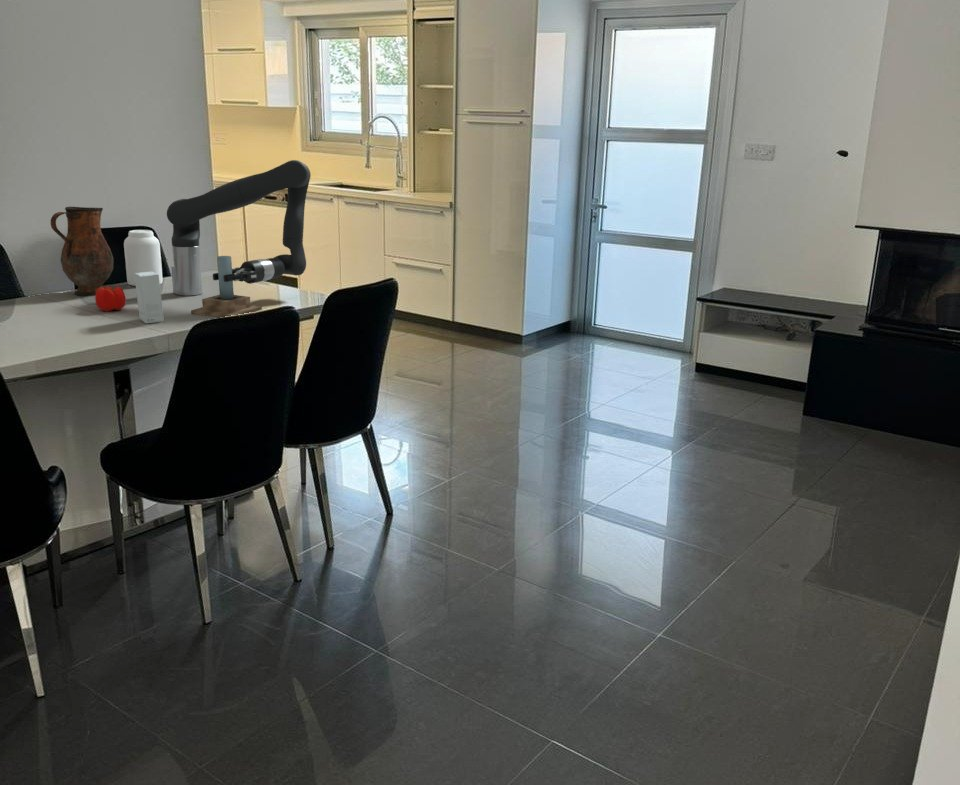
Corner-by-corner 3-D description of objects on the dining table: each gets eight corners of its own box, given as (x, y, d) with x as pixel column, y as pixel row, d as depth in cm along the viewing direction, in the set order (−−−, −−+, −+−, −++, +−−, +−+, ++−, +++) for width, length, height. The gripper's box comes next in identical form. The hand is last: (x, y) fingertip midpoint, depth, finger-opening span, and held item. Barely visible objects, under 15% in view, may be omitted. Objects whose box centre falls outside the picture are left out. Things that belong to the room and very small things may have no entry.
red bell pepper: (90, 311, 277) (88, 288, 274) (111, 306, 285) (109, 283, 282) (113, 314, 273) (111, 291, 271) (133, 309, 281) (131, 286, 279)
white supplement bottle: (141, 288, 315) (136, 233, 309) (120, 284, 321) (115, 230, 315) (169, 283, 325) (165, 230, 319) (149, 279, 332) (144, 227, 326)
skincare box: (164, 322, 265) (160, 274, 260) (144, 324, 262) (139, 275, 257) (157, 316, 272) (153, 270, 267) (137, 318, 268) (133, 271, 264)
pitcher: (127, 291, 308) (119, 207, 299) (78, 301, 289) (68, 211, 280) (93, 286, 314) (84, 203, 305) (43, 296, 296) (32, 208, 287)
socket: (191, 313, 278) (190, 299, 276) (222, 304, 292) (221, 291, 291) (232, 318, 272) (231, 304, 271) (261, 309, 287) (261, 296, 285)
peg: (217, 299, 280) (214, 257, 276) (225, 297, 284) (222, 255, 279) (228, 301, 278) (225, 258, 274) (236, 298, 282) (233, 256, 278)
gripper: (241, 257, 293) (202, 264, 279) (272, 262, 286) (233, 268, 272) (243, 279, 295) (204, 286, 281) (273, 284, 288) (235, 292, 274)
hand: (219, 277), depth 277 cm, fingers closed on peg, 4 cm apart
